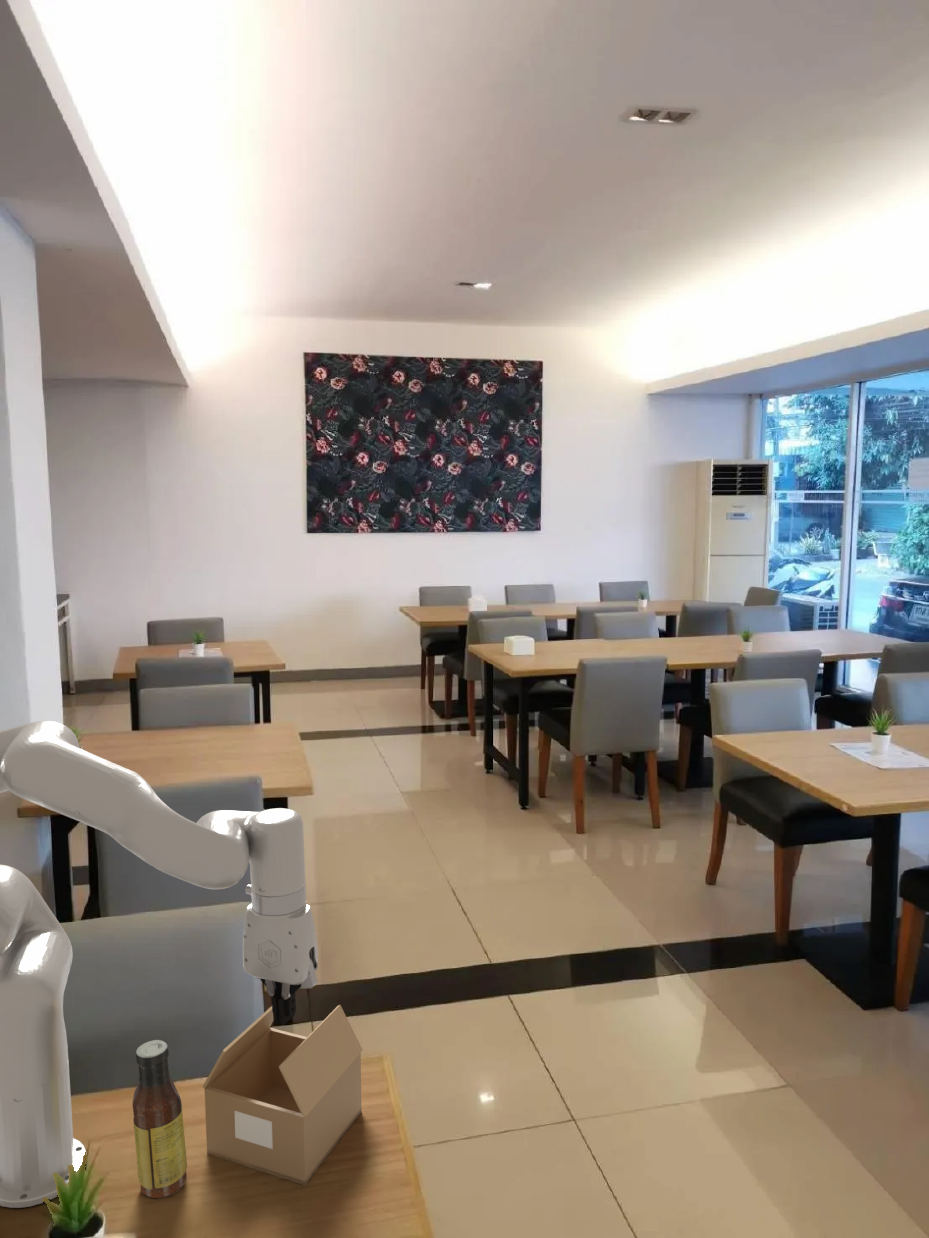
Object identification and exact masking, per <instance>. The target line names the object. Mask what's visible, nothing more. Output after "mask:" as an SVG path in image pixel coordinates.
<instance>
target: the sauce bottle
mask: <svg viewBox="0 0 929 1238" xmlns="http://www.w3.org/2000/svg"><path fill="white" fill-rule="evenodd" d="M169 1055H170V1053H169V1046H168V1044H167V1042H165V1041H163V1040H161V1039H153V1040H150V1041H147V1042H144V1043H142V1044H141V1045H140V1046H138V1047H137V1048H136V1051H135V1058H136V1059H135V1060H136V1064H137V1065H138V1074H139V1076H138V1081H139V1082H138V1085H137V1086H136V1087H135V1090H134V1093H133V1097H132V1105H131V1106H132V1112H133V1113H132V1114H133V1131H134V1144H135V1152H136V1165H137V1175H138V1183H139V1184H140V1189H141V1192H142V1193H143V1195H145V1196H147V1197H149V1198H153V1199H162V1198H163V1199H164V1198H167V1197H170V1196H172V1195H173V1194H175V1193H177V1192H178V1191H180V1190H181V1189H182V1187H184V1185H185V1183H186V1181H187V1168H188V1161H187V1160H188V1159H187V1150H186V1149H187V1148H186V1139H185V1128H184V1127H185V1126H184V1116H183V1115H184V1114H183V1105H182V1103H183V1102H182V1099H181V1096H180V1094H179V1092H178V1089H177V1087H176V1085H175V1083H174V1081H173V1078H172V1076H171V1074H170V1072H171V1071H170V1069H169V1059H168V1057H169Z"/></svg>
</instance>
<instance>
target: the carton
mask: <svg viewBox="0 0 929 1238" xmlns="http://www.w3.org/2000/svg"><path fill="white" fill-rule="evenodd" d="M307 1037H308V1036H304V1035H300V1034H296V1033H293V1032H289V1031H284V1030H280V1029H277V1028H274V1027H273V1028H272V1027H271V1026H270V1027H269V1028H268V1029H267V1030H266V1031H265V1032H264V1033H263V1034H262V1035H261V1036H260V1037H259V1038H258V1039H257V1040H256V1041H255V1042H254V1043H252V1044H251V1045H250V1046H249V1047H248V1048H247V1049H246V1050H245V1051H244V1052H243V1053H242V1054H241V1055H240V1056H239V1057H238V1058H237V1059H235V1060H234V1061H233V1062H232V1063H231V1064H230V1065H229V1066H228V1067H227V1068H226V1069H225V1070H224V1071H223V1072H222V1073H221V1074H219V1075H218V1076H217V1077H216V1078H215V1079H214V1080H213V1081H212V1082H211V1083H210V1084H209V1085H208V1086H207V1087H206V1088H205V1089H204V1105H205V1106H204V1107H205V1109H204V1110H205V1134H206V1154H207V1155H210V1156H213V1157H216V1158H219V1159H222V1160H225V1161H228V1162H231V1163H235V1164H238V1165H240V1166H245V1167H247V1168H250V1169H253V1170H256V1171H259V1172H262V1173H264V1174H269V1175H272V1176H275V1177H277V1178H281V1179H284V1180H287V1181H290V1182H293V1183H297V1184H299V1185H303V1186H306V1185H307V1184H308V1182H309V1181H310V1180H311V1179H312V1177H313V1176H314V1174H315V1173H316V1172H317V1171H318V1169H319V1168H321V1166H322V1164H323V1163H324V1162H325V1160H326V1159H327V1158H328V1156H329V1155H330V1154H331V1152H333V1150H334V1149H335V1147H336V1146H337V1145H338V1144H339V1142H340V1141H341V1140H342V1138H343V1137H344V1136H345V1134H347V1131H349V1129H350V1128H351V1126H352V1125H354V1123H355V1121H356V1120H357V1118H359V1116H360V1115H361V1114H362V1112H363V1111H362V1058H361V1057H362V1056H361V1055H362V1054H361V1053H362V1052H361V1053H360V1054H359V1055H358V1056H357V1057H356V1058H355V1060H354V1061H353V1062H352V1063H351V1064H350V1065H349V1067H348V1068H347V1069H346V1070H345V1071H344V1073H343V1074H342V1075H341V1076H340V1077H339V1078H338V1080H337V1081H336V1082H335V1083H334V1084H333V1085H332V1087H331V1088H330V1089H329V1090H328V1091H327V1092H326V1094H325V1095H324V1096H323V1097H322V1098H321V1099H320V1101H319V1102H318V1103H317V1104H316V1105H315V1107H314V1108H313V1109H312V1110H311V1111H310V1112H309V1114H308V1115H307V1116H306V1117H304V1118H303V1115H302V1113H301V1111H300V1109H299V1107H298V1105H297V1103H296V1101H295V1099H294V1097H293V1095H292V1093H291V1091H290V1089H289V1087H288V1085H287V1083H286V1081H285V1079H284V1077H283V1075H282V1073H281V1071H280V1069H279V1066H280V1065H281V1064H282V1063H283V1062H284V1061H285V1060H286V1059H287V1058H288V1056H289V1055H290V1054H291V1053H292V1052H293V1051H294V1050H295V1049H296V1048H297V1047H298V1046H299V1045H300V1044H301V1043H302V1042H303V1041H304V1040H305V1039H306V1038H307Z"/></svg>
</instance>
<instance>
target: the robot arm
mask: <svg viewBox="0 0 929 1238" xmlns="http://www.w3.org/2000/svg"><path fill="white" fill-rule="evenodd" d="M8 791H9V792H11V793H12V794H14V795H15V796H17V797H19V798H21V799H23V800H25V801H28V802H30V803H32V804H35V805H38V806H40V807H42V808H44V809H47V810H50V811H53V812H56V813H57V814H60V815H63V816H65V817H68V818H70V819H73V820H75V821H77V822H80V823H83V824H84V825H86V826H89V827H91V828H94V829H95V830H99V831H101V832H102V833H105V834H107V835H108V836H109V837H111V838H113V840H114V841H115V842H116V843H118V844H119V845H120V846H121V847H123V848H125V849H126V850H128V851H129V852H130V853H132V854H133V855H135V856H136V857H137V858H139V859H141V860H142V861H143V862H144V863H146V864H148V865H150V866H151V867H152V868H154V869H157V870H158V871H160V872H162V873H164V874H167V875H169V876H171V877H174V878H176V879H179V880H181V881H184V882H186V883H188V884H191V885H193V886H197V887H199V888H203V889H208V890H224V889H227V888H231V887H232V886H234V885H236V884H238V882H240V880H241V879H242V878H243V877H244V875H245V874H246V872H247V870H248V868H249V873H250V874H249V875H250V884H247V885H246V886H245V889H244V891H245V892H244V893H245V894H247V895H250V896H251V903H250V904H249V905H248V906H247V907H246V911H245V918H244V922H243V923H244V925H243V934H242V966H243V967H242V968H243V970H244V972H245V973H246V974H248V975H250V976H252V977H254V978H255V979H258V980H260V981H261V983H262V984H263V985H264V986H265V987H266V992H267V994H268V996H270V997H271V1006H272V1012H273V1023H275V1024H280V1025H283V1026H285V1025H286V1024H287V1023H288V1022H289V1021H290V1020H291V1019H292V1018H293V1017H295V1014H296V1011H297V1002H296V999H297V998H296V997H297V996H296V992H297V991H298V990H299V989H304V990H305V989H312V988H314V986H316V984H317V983H318V978H317V975H316V971H317V969H318V966H319V951H318V940H317V932H316V927H315V921H314V917H313V913H312V908H311V906H310V905H309V904H307V887H306V863H305V862H306V861H305V836H304V834H305V833H304V824H303V823H304V821H303V818H302V816H301V814H299V812H297V811H296V810H293V809H291V808H290V809H289V808H283V807H278V808H277V807H276V808H269V809H268V808H267V809H264V810H262V811H261V810H260V811H245V810H244V811H243V810H228V809H227V810H226V809H223V810H221V809H220V810H214V811H211V812H208V813H205V814H204V815H203V816H201V817H200V818H199V819H198V820H197V821H196V822H194V821H192V820H190V819H188V818H186V817H185V816H183V815H181V814H179V813H177V811H175V810H174V809H172V808H170V807H169V806H168V805H167V804H166V803H165V802H164V801H163V800H162V799H161V798H160V797H159V796H158V795H157V793H156V791H154V789H153V788H152V786H151V785H150V784H149V782H147V781H146V779H145V778H144V777H142V776H141V775H140V774H139V773H137V772H136V771H133V770H131V769H128V768H126V767H124V766H122V765H119V764H117V763H114V762H112V761H110V760H108V759H105V758H103V757H101V756H98V755H96V754H94V753H91V752H89V751H87V750H84V749H82V748H80V744H79V741H78V738H77V735H76V734H75V732H74V731H72V729H71V728H69V727H68V726H67V725H65V724H63V723H60V722H57V721H53V720H52V721H51V720H38V721H34V722H29V723H25V724H22V725H18V726H17V725H16V726H15V727H10V728H6V729H3V730H0V794H2V793H5V792H8ZM73 954H74V953H73V946H72V943H71V941H70V938H69V936H68V934H67V932H66V931H65V929H64V928H63V926H62V925H61V923H60V922H59V920H58V919H57V917H56V915H55V914H54V913H53V910H51V909H50V907H49V905H48V903H47V902H46V901H45V900H44V897H43V896H42V895H41V893H40V892H39V890H38V889H37V888H36V886H35V885H34V884H33V882H32V881H31V880H30V878H29V877H28V876H26V875H25V874H24V873H23V872H22V871H20V870H19V869H17V868H15V867H12V866H10V865H5V864H1V863H0V1207H3V1208H4V1207H5V1208H10V1209H13V1208H14V1209H17V1208H18V1209H21V1208H27V1207H33V1206H36V1205H40V1204H43V1201H42V1199H43V1198H44V1197H47V1198H48V1199H50V1200H49V1201H51V1200H53V1199H54V1198H55V1199H56V1197H58V1196H57V1190H56V1184H55V1181H54V1178H53V1176H52V1175H53V1173H55V1172H56V1173H58V1174H59V1175H60V1176H61V1177H62V1178H63V1180H64V1182H65V1183H66V1184H68V1182H69V1180H68V1178H69V1172H68V1166H69V1165H73V1167H74V1171H76V1172H77V1171H78V1170H79V1168H80V1166H81V1165H82V1162H83V1156H84V1155H85V1152H86V1153H87V1150H86V1147H85V1146H84V1144H83V1143H82V1142H81V1141H80V1140H78V1139H76V1138H74V1128H73V1113H72V1097H71V1094H72V1093H71V1082H70V1081H71V1080H70V1066H69V1065H70V1064H69V1063H70V1062H69V1051H68V1049H69V1047H68V1039H67V1038H68V1037H67V1029H66V1024H65V1019H64V1008H63V1007H64V995H65V990H66V986H67V983H68V977H69V974H70V971H71V968H72V964H73V963H72V962H73V956H74V955H73Z"/></svg>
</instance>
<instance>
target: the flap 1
mask: <svg viewBox="0 0 929 1238" xmlns="http://www.w3.org/2000/svg"><path fill="white" fill-rule="evenodd" d="M273 1023H274V1021H273V1012H272V1005H271V1006H270V1007H269V1008H268V1009H267V1010H266V1011H264V1012H263V1013H262V1014H261V1015H260V1016H259V1017H257V1019H256V1020H255V1021H253V1022H252V1023H251V1024H250V1025H249V1026H247V1028H246V1029H245V1030H243V1031H242V1032H241V1033H240V1034H239V1035H237V1037H235V1039H233V1040H232V1041H231V1042H230V1043H229V1044H228V1045H226V1047H224V1048H223V1049H222V1051H221V1053H220V1055H219V1056H218V1058H217V1059H216V1062H215V1064H214V1065H213V1067H212V1069H211V1070H210V1072H209V1074H208V1076H207V1078H206V1080H205V1082H204V1083H203V1085H202V1088H203V1089H204V1090H205V1088H206V1087H207V1086H208V1085H209V1084H210V1083H211V1082H212V1081H213V1080H214V1079H215V1078H216V1077H217V1076H218V1075H219V1074H221V1073H222V1072H223V1071H224V1070H225V1069H226V1068H227V1067H228V1066H229V1065H230V1064H231V1063H232V1062H233V1061H234V1060H235V1059H237V1058H238V1057H239V1056H240V1055H241V1054H242V1053H243V1052H244V1051H245V1050H246V1049H247V1048H248V1047H249V1046H250V1045H251V1044H252V1043H254V1042H255V1041H256V1040H257V1039H258V1038H259V1037H260V1036H261V1035H262V1034H263V1033H264V1032H265V1031H266V1030H267V1029H268V1028H269V1027H270V1028H271V1026H272V1024H273Z"/></svg>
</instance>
